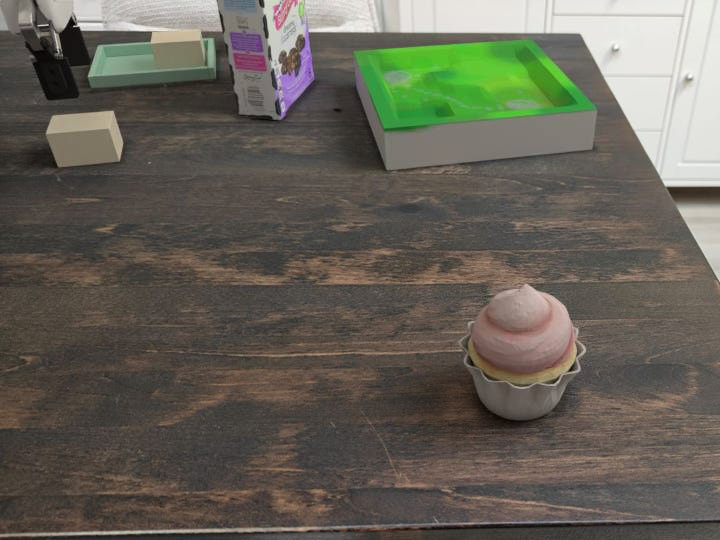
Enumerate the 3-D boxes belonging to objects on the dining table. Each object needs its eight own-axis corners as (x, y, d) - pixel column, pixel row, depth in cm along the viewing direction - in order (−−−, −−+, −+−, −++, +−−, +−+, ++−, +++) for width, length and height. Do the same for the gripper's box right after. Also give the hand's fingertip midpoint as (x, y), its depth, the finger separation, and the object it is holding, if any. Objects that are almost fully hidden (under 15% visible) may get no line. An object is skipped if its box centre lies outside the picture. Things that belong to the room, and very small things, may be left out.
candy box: (281, 122, 94) (258, -20, 83) (237, 118, 94) (208, -24, 84) (317, 82, 104) (300, -49, 93) (276, 78, 105) (255, -52, 94)
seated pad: (157, 72, 104) (150, 43, 101) (159, 60, 107) (152, 31, 105) (206, 69, 105) (200, 40, 103) (206, 57, 109) (200, 28, 106)
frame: (92, 92, 100) (87, 76, 98) (102, 59, 109) (97, 45, 107) (217, 82, 103) (213, 67, 102) (216, 52, 112) (213, 37, 111)
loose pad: (58, 167, 83) (45, 133, 81) (64, 148, 87) (52, 115, 84) (119, 161, 85) (109, 128, 82) (123, 143, 88) (113, 110, 86)
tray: (528, 74, 108) (531, 39, 104) (592, 149, 90) (597, 109, 86) (356, 88, 102) (353, 51, 99) (386, 170, 84) (384, 128, 81)
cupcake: (577, 356, 61) (591, 252, 54) (581, 440, 54) (598, 332, 47) (463, 350, 61) (463, 245, 54) (452, 433, 54) (451, 324, 47)
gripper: (-20, -117, 75) (46, 57, 86) (-67, -82, 62) (17, 116, 73) (61, -121, 76) (115, 51, 87) (31, -87, 63) (98, 108, 75)
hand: (70, 81), depth 80 cm, fingers open, 9 cm apart
